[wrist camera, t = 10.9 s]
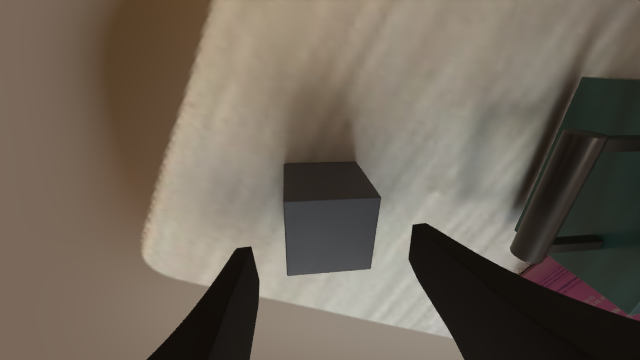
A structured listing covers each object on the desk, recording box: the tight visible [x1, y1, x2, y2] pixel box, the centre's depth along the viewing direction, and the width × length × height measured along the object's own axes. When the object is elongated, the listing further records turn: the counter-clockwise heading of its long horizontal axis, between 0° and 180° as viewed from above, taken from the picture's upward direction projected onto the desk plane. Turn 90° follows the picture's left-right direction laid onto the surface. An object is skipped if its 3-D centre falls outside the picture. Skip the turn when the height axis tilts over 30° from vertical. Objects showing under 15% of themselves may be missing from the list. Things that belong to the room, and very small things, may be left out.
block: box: [283, 162, 381, 276], centre depth 14 cm, size 4×4×4 cm
